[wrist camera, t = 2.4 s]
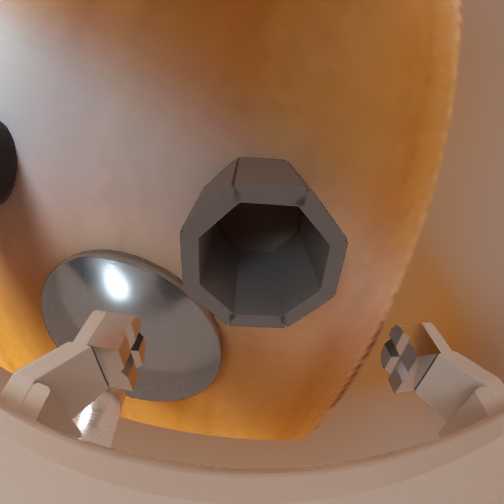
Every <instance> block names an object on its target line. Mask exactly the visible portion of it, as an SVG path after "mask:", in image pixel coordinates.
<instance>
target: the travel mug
mask: <svg viewBox="0 0 504 504" xmlns="http://www.w3.org/2000/svg"><path fill="white" fill-rule="evenodd" d="M15 176H16V153H15V147H14V143H13V140H12V137H11V134H10V132H9V131H8V129H7V128H6V126H5V125H4V124H3V123H2V122H0V204H2V203H3V202H4V201H5V200H6V199H7V198H8V197H9V195H10V193H11V191H12V189H13V186H14V182H15Z"/></svg>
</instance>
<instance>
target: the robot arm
mask: <svg viewBox="0 0 504 504" xmlns="http://www.w3.org/2000/svg"><path fill="white" fill-rule="evenodd" d="M140 329H141V322H140V318H139V317H137V316H132V315H126V314H120V313H114V312H106V311H100V310H95V311H93V312H92V313H91V315H90V316H89V318H88V319H87V321H86V322H85V324H84V325H83V327H82V328H81V330H80V331H79V333H78V335H77V336H76V338H75V339H74V341H73V342H67V343H65V344H63V345H61V346H60V347H58V348H56V349H54V350H52V351H51V352H49V353H47V354H45V355H43V356H42V357H40V358H38V359H36V360H34V361H33V362H31V363H29V364H27V365H25V366H24V367H22V368H20V369H18V370H16V371H15V372H14V373H13V375H12V377H11V378H10V380H9V382H8V383H7V385H6V386H5V388H4V390H3V391H2V393H1V395H0V504H504V385H503V383H502V382H501V380H500V379H499V378H497V377H496V376H494V375H493V374H491V373H490V372H488V371H486V370H485V369H483V368H481V367H480V366H478V365H477V364H475V363H474V362H472V361H470V360H469V359H467V358H466V357H464V356H462V355H461V354H459V353H457V352H456V351H453V352H452V350H451V349H450V347H449V346H448V345H447V343H446V342H445V340H444V339H443V337H442V336H441V334H440V333H439V332H438V330H437V329H436V327H435V326H434V324H432V323H430V322H425V323H418V324H405V325H395V326H394V327H393V328H392V329H391V332H390V334H389V335H390V338H391V339H390V340H389V341H388V342H387V343H385V345H384V347H383V350H382V353H381V361H382V366H383V368H384V370H385V371H386V372H388V373H389V374H390V376H389V382H390V384H391V387H392V389H393V391H394V394H397V393H404V392H410V391H414V392H415V393H416V394H417V395H418V396H419V397H420V398H421V399H422V400H423V401H425V402H426V403H427V404H428V405H429V406H430V407H431V408H432V409H433V410H434V411H435V412H436V413H437V414H439V415H440V416H441V417H442V418H443V419H444V420H445V421H446V422H447V423H446V424H445V425H444V426H443V427H442V428H441V430H440V431H439V436H440V437H439V438H436V439H433V440H430V441H427V442H424V443H421V444H418V445H415V446H412V447H408V448H404V449H401V450H397V451H393V452H389V453H385V454H381V455H376V456H372V457H367V458H362V459H356V460H351V461H344V462H338V463H330V464H322V465H313V466H301V467H285V468H231V467H215V466H204V465H195V464H186V463H179V462H173V461H166V460H161V459H155V458H150V457H145V456H141V455H136V454H132V453H128V452H124V451H120V450H116V449H112V448H109V447H105V446H102V445H98V444H95V443H92V442H89V441H86V440H83V439H80V438H81V435H82V434H81V431H80V430H79V428H78V427H77V426H76V425H75V423H74V422H73V421H72V419H73V418H75V417H76V416H77V415H78V414H79V413H80V412H82V411H83V410H84V409H85V408H86V407H87V406H89V405H90V404H91V403H92V402H93V401H94V400H95V399H97V398H98V397H99V396H100V395H101V394H102V393H104V392H105V391H106V390H107V389H108V388H109V387H113V388H118V389H124V390H129V391H133V389H134V387H135V384H136V381H137V378H138V372H137V368H138V367H140V366H141V365H142V364H143V361H144V357H145V340H144V337H143V336H142V335H141V334H140V332H139V331H140Z"/></svg>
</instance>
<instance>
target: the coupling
mask: <svg viewBox="0 0 504 504" xmlns="http://www.w3.org/2000/svg"><path fill="white" fill-rule="evenodd" d="M239 203H257V204H272V205H285V206H298V207H299V208H300V209H301V210H302V213H301V220H300V227H299V232H298V233H297V234H296V235H294V236H293V237H292V238H291V239H289V240H288V241H287V242H285V243H284V244H283V245H281V246H280V247H279V248H277V249H276V250H275V251H273V252H255V251H238V250H237V249H236V248H235V247H234V246H233V245H232V244H231V243H230V242H229V241H228V240H227V239H226V238H225V237H224V236H223V235H222V234H221V233H220V232H219V231H218V230H217V229H216V228H215V223H216V222H218V221H219V220H220V219H221V218H222V217H223V216H225V215H226V214H227V213H228V212H229V211H230V210H232V209H233V208H234V207H235V206H236V205H237V204H239ZM180 242H181V261H182V277H183V288H185V291H186V292H187V293H189V294H190V295H191V296H192V297H193V298H194V299H196V300H197V301H198V302H199V303H200V304H202V305H203V306H204V307H205V308H206V309H208V310H209V311H210V312H211V313H213V314H214V315H215V316H216V317H217V318H219V319H220V320H221V321H222V322H224V323H225V324H228V323H229V326H245V327H271V328H284V327H285V325H286V326H287V327H288V326H290V325H291V324H293V323H294V322H296V321H298V320H299V319H301V318H302V317H304V316H305V315H307V314H308V313H310V312H311V311H313V310H314V309H316V308H317V307H319V306H320V305H322V304H323V303H325V302H326V301H328V300H329V299H331V298H332V297H333V296H332V295H335V292H336V288H337V285H338V281H339V277H340V273H341V269H342V265H343V261H344V257H345V253H346V248H347V244H348V241H347V238H346V236H345V235H344V233H343V232H342V231H341V229H340V228H339V226H338V225H337V224H336V222H335V221H334V220H333V218H332V217H331V215H330V214H329V213H328V211H327V210H326V209H325V207H324V206H323V205H322V203H321V202H320V201H319V199H318V198H317V197H316V195H315V194H314V193H313V192H312V190H311V189H310V188H309V186H308V185H307V184H306V183H305V182H304V180H303V179H302V178H301V177H300V175H299V174H298V173H297V172H296V171H295V169H294V168H293V167H292V166H291V165H290V163H289V162H287V161H286V160H276V159H263V158H248V157H240V159H238V158H237V159H236V160H235V161H233V162H232V163H231V164H230V165H229V166H228V167H227V168H225V169H224V170H223V171H222V172H221V173H220V174H219V175H218V176H216V177H215V178H214V179H213V180H212V181H211V182H210V183H209V184H208V185H206V186H205V187H204V189H203V191H202V193H201V194H200V196H199V198H198V200H197V201H196V203H195V205H194V207H193V208H192V210H191V212H190V214H189V216H188V218H187V219H186V221H185V223H184V225H183V227H182V229H181V231H180Z"/></svg>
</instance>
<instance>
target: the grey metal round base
mask: <svg viewBox="0 0 504 504" xmlns="http://www.w3.org/2000/svg"><path fill="white" fill-rule="evenodd" d="M41 309H42V315H43V319H44V322H45V325H46V328H47V330H48V332H49V334H50V336H51V338H52V340H53V341H54V343H55V344H56V346H57V347H60V346H61V345H63V344H65V343H67V342H73V341H74V339H75V338H76V336H77V335H78V333H79V331H80V330H81V328H82V327H83V325H84V324H85V322H86V321H87V319H88V318H89V316H90V315H91V313H92V312H93V311H95V310H100V311H106V312H114V313H120V314H126V315H132V316H137V317H139V318H140V322H141V329H140V331H139V332H140V334H141V335H142V336H143V337H144V340H145V357H144V361H143V364H142V365H141V366H140V367H138V368H137V372H138V378H137V381H136V384H135V387H134V389H133V391H129V390H124V389H118V388H113V387H109V388H108V389H107V390H106V391H105V392H104V393H102V394H101V395H100V396H99V397H98V398H97V399H95V400H94V401H93V402H92V403H91V404H90V405H89V406H87V407H86V408H85V409H84V410H83V411H82V412H80V413H79V414H78V415H77V416H76V417H75V418H73V419H72V421H73V422H74V423H75V425H76V426H77V427H78V428H79V430H80V431H81V434H82V435H81V438H80V439H83V440H86V441H89V442H92V443H95V444H98V445H102V446H105V447H109V448H110V446H111V442H112V439H113V435H114V432H115V429H116V425H117V422H118V419H119V415H120V412H121V409H122V406H123V403H124V400H125V397H126V396H129V397H133V398H137V399H142V400H149V401H175V400H181V399H185V398H188V397H191V396H194V395H196V394H198V393H200V392H201V391H203V390H204V389H206V388H207V387H208V386H209V385H210V384H211V383H212V382H213V381H214V379H215V377H216V375H217V374H218V371H219V367H220V360H221V349H222V343H221V336H220V332H219V329H218V326H217V324H216V322H215V319H214V317H213V315H212V314H211V312H210V311H209V310H208V309H206V308H205V307H204V306H203V305H202V304H200V303H199V302H198V301H197V300H196V299H194V298H193V297H192V296H191V295H190V294H189V293H187V292H186V291H185V288H183V282H182V281H181V280H180V279H178V278H177V277H176V276H174V275H173V274H171V273H170V272H168V271H166V270H165V269H163V268H162V267H160V266H158V265H156V264H154V263H152V262H150V261H148V260H145V259H142V258H140V257H137V256H134V255H131V254H127V253H123V252H119V251H111V250H91V251H85V252H81V253H78V254H75V255H73V256H71V257H69V258H67V259H66V260H64V261H63V262H62V263H61V264H60V265H59V266H58V267H57V268H56V269H55V270H54V271H53V272H52V273H51V274H50V276H49V277H48V279H47V280H46V282H45V285H44V287H43V290H42V295H41Z"/></svg>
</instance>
